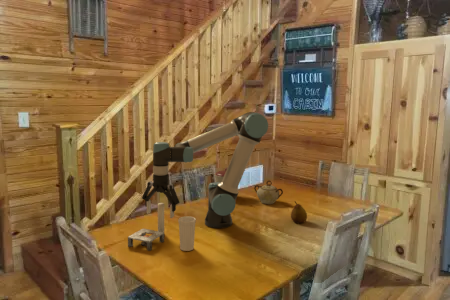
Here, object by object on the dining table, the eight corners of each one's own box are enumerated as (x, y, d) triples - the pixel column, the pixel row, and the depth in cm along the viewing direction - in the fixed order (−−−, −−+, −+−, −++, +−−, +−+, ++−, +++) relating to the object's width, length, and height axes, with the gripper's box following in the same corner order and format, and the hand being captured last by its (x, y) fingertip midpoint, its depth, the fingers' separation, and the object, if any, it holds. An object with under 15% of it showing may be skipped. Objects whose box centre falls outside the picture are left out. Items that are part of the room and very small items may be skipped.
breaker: (151, 239, 174) (151, 235, 174) (147, 241, 171) (147, 238, 171) (145, 237, 176) (145, 234, 175) (140, 240, 172) (140, 237, 172)
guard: (164, 241, 177) (164, 232, 176) (150, 251, 166) (149, 241, 165) (143, 237, 181) (142, 228, 181) (128, 246, 170) (127, 236, 170)
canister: (240, 201, 245) (241, 170, 242) (213, 200, 246) (213, 170, 242) (239, 194, 263) (240, 165, 260) (214, 193, 263) (214, 164, 260)
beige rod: (165, 233, 186) (165, 203, 184) (162, 236, 184) (161, 205, 181) (160, 232, 188) (159, 202, 185) (156, 235, 185) (156, 204, 182)
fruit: (309, 221, 209) (310, 201, 207) (300, 225, 202) (302, 204, 200) (296, 218, 215) (297, 198, 213) (287, 221, 208) (288, 201, 206)
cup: (188, 254, 164) (188, 223, 161) (174, 249, 168) (174, 219, 166) (199, 247, 170) (199, 218, 168) (185, 243, 175) (185, 215, 172)
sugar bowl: (285, 201, 247) (286, 180, 245) (278, 207, 234) (279, 184, 232) (257, 197, 255) (258, 176, 253) (249, 203, 242) (250, 181, 240)
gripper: (186, 175, 180) (185, 216, 183) (143, 169, 189) (143, 209, 192) (179, 178, 173) (178, 221, 176) (134, 172, 182) (134, 213, 185)
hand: (160, 215), depth 184 cm, fingers open, 13 cm apart
